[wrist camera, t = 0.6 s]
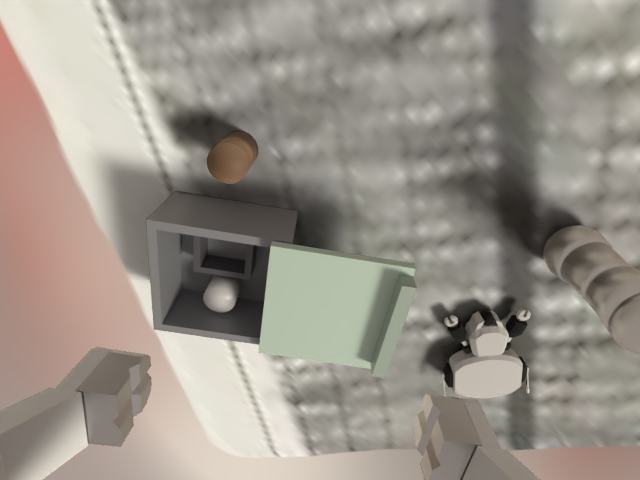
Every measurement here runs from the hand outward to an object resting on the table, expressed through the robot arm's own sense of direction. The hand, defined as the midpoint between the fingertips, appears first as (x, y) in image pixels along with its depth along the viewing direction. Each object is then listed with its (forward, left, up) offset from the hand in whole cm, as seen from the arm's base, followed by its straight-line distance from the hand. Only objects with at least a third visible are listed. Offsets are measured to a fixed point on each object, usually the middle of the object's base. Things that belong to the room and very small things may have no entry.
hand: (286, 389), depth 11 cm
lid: (+17, +4, -26) cm, 31 cm away
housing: (+17, -9, -34) cm, 39 cm away
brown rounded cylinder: (+3, -9, -34) cm, 35 cm away
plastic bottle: (+8, +32, -34) cm, 48 cm away
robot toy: (+26, +28, -34) cm, 52 cm away
